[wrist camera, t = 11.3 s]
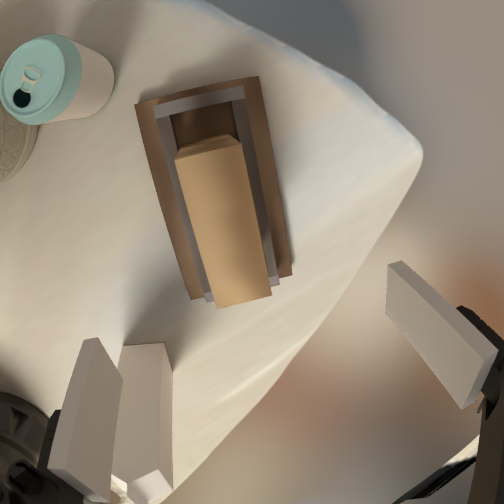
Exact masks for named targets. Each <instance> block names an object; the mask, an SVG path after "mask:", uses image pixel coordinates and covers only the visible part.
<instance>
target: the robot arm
mask: <svg viewBox="0 0 504 504" xmlns="http://www.w3.org/2000/svg"><path fill="white" fill-rule="evenodd" d="M385 313H386V314H387V316H388V317H389V318H390V319H391V320H392V321H393V323H394V324H395V325H396V326H397V328H399V330H400V331H401V332H402V334H403V335H404V336H405V337H406V339H407V340H408V341H409V342H410V343H411V345H412V346H413V347H414V348H415V350H416V351H417V352H418V353H419V355H420V356H421V357H422V358H423V360H424V361H425V362H426V363H427V365H428V366H429V367H430V369H431V370H432V371H433V372H434V374H435V375H436V376H437V378H438V379H439V380H440V382H441V383H442V384H443V385H444V387H445V388H446V389H447V391H448V392H449V393H450V395H451V396H452V397H453V399H454V400H455V401H456V403H457V404H458V405H459V407H460V408H461V409H463V408H465V407H466V406H468V405H470V404H471V403H473V402H474V401H476V399H477V397H478V395H479V393H480V391H481V392H482V393H483V394H484V395H485V397H484V398H483V400H482V402H481V404H480V406H479V408H478V411H477V413H480V411H481V409H482V419H481V429H480V437H479V445H478V452H477V458H476V464H475V470H474V475H473V480H472V485H471V490H470V494H469V498H468V502H467V504H504V340H503V339H502V338H501V337H500V336H498V334H496V333H495V332H494V331H493V330H492V329H491V328H490V327H489V326H487V325H486V323H485V322H484V321H483V320H480V317H478V316H477V315H476V314H475V313H474V312H473V311H472V310H470V309H468V308H466V307H464V306H459V307H457V308H455V307H454V306H452V305H451V304H450V303H449V302H448V301H447V300H446V299H445V298H444V297H443V296H442V295H440V294H439V293H438V292H437V291H436V290H435V289H434V288H433V287H432V286H430V285H429V284H428V283H427V282H426V281H425V280H424V279H422V278H421V277H420V276H419V275H418V274H417V273H416V272H414V271H413V270H412V269H411V268H410V267H409V266H407V265H406V264H405V263H404V262H403V261H399V262H395V263H392V264H389V265H388V272H387V294H386V309H385ZM122 385H123V378H122V376H121V375H120V373H119V372H118V370H117V369H116V367H115V365H114V364H113V362H112V360H111V359H110V357H109V355H108V354H107V352H106V350H105V349H104V347H103V345H102V343H101V342H100V340H99V338H98V337H97V338H92V339H86V340H84V341H83V344H82V347H81V349H80V352H79V355H78V358H77V361H76V364H75V367H74V370H73V373H72V376H71V379H70V383H69V386H68V389H67V392H66V396H65V399H64V402H63V406H62V409H61V410H55V411H54V413H53V414H52V416H51V417H50V419H49V420H48V418H47V417H46V416H45V415H44V414H42V413H41V412H40V411H39V410H38V409H36V408H35V407H33V406H32V405H30V404H29V403H27V402H25V401H24V400H22V399H20V398H17V397H15V396H12V395H9V394H5V393H0V504H84V503H83V498H84V496H85V497H86V498H88V499H89V500H91V501H92V502H109V501H110V486H111V473H112V462H113V452H114V443H115V434H116V426H117V418H118V411H119V404H120V397H121V391H122Z"/></svg>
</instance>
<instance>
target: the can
mask: <svg viewBox="0 0 504 504" xmlns="http://www.w3.org/2000/svg"><path fill="white" fill-rule="evenodd" d="M113 87H114V72H113V68H112V66H111V64H110V63H109V61H108V60H107V59H106V58H105V57H104V56H102V55H101V54H99V53H97V52H95V51H93V50H91V49H89V48H87V47H85V46H83V45H81V44H79V43H77V42H75V41H73V40H71V39H68V38H66V37H64V36H62V35H58V34H47V35H42V36H39V37H36V38H34V39H32V40H30V41H28V42H26V43H24V44H22V45H21V46H19V47H18V48H17V49H16V50H15V51H14V52H13V53H12V54H11V55H10V57H9V58H8V60H7V61H6V63H5V65H4V67H3V70H2V72H1V76H0V99H1V102H2V104H3V106H4V107H5V109H6V110H7V111H8V112H9V113H10V114H11V115H12V116H13V117H14V118H16V119H17V120H19V121H20V122H22V123H25V124H29V125H39V124H44V123H50V122H57V121H63V120H71V119H78V118H84V117H88V116H90V115H92V114H94V113H96V112H97V111H99V110H100V109H101V108H102V107H103V106H104V105H105V104H106V102H107V101H108V99H109V97H110V95H111V93H112V90H113Z"/></svg>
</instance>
